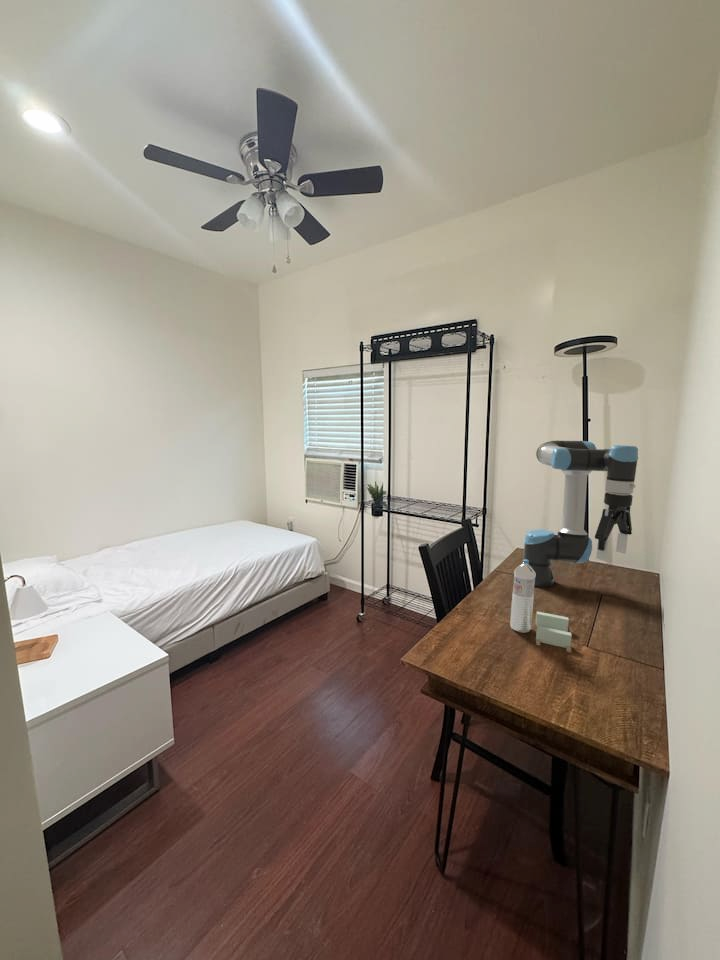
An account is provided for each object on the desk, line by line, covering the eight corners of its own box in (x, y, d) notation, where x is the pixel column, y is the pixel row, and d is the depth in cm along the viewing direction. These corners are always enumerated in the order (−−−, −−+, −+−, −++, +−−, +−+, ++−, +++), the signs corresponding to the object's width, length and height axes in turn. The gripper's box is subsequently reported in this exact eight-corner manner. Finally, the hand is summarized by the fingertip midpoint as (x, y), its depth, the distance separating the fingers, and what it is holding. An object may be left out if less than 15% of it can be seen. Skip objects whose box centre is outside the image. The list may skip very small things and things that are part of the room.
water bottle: (532, 634, 130) (539, 564, 126) (511, 632, 131) (517, 562, 128) (528, 624, 136) (534, 557, 133) (508, 622, 138) (513, 556, 134)
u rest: (536, 644, 124) (537, 631, 123) (535, 620, 140) (536, 608, 139) (570, 652, 120) (572, 639, 119) (566, 626, 136) (567, 614, 135)
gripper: (613, 498, 114) (605, 566, 117) (648, 491, 127) (640, 552, 131) (587, 494, 120) (580, 559, 123) (623, 488, 134) (616, 546, 137)
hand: (611, 555), depth 127 cm, fingers open, 13 cm apart
